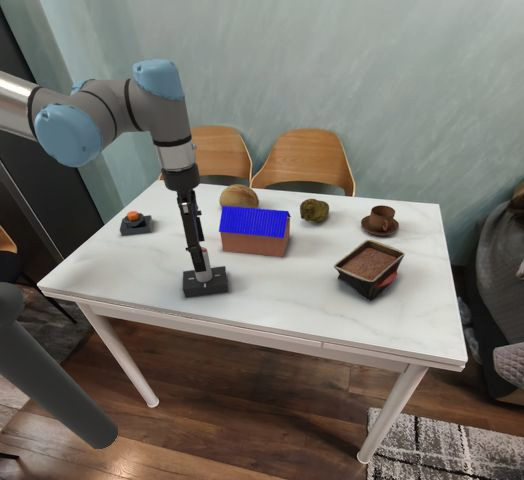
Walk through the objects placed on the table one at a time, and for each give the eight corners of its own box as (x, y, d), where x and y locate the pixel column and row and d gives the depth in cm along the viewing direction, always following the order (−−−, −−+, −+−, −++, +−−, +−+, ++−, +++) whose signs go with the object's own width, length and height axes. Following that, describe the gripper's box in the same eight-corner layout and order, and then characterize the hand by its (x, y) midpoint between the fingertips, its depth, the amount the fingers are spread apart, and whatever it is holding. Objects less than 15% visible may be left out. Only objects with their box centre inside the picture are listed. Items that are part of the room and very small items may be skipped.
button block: (122, 235, 105) (117, 224, 102) (125, 224, 110) (120, 213, 107) (151, 232, 106) (147, 221, 103) (152, 220, 111) (149, 210, 108)
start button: (128, 221, 104) (126, 216, 102) (129, 216, 106) (127, 211, 105) (138, 220, 104) (137, 215, 103) (139, 215, 106) (138, 210, 105)
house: (283, 257, 93) (284, 221, 84) (221, 251, 97) (215, 215, 88) (290, 236, 100) (291, 201, 91) (232, 231, 104) (228, 196, 95)
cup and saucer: (404, 233, 99) (411, 215, 94) (373, 242, 96) (378, 223, 92) (382, 216, 106) (387, 199, 101) (352, 224, 104) (356, 206, 99)
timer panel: (185, 298, 83) (182, 289, 81) (185, 279, 89) (182, 270, 86) (228, 292, 84) (227, 283, 81) (226, 273, 89) (224, 264, 87)
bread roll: (257, 215, 110) (255, 192, 104) (217, 214, 112) (213, 191, 106) (261, 202, 116) (260, 180, 110) (223, 201, 118) (220, 179, 112)
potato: (337, 220, 106) (340, 197, 99) (305, 231, 102) (307, 207, 96) (323, 210, 110) (326, 187, 104) (292, 220, 107) (293, 197, 101)
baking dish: (325, 286, 87) (328, 260, 78) (366, 253, 92) (373, 225, 83) (365, 314, 81) (373, 289, 72) (407, 277, 85) (419, 250, 77)
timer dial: (196, 283, 82) (189, 256, 76) (196, 273, 85) (189, 246, 79) (212, 281, 83) (207, 254, 76) (212, 271, 85) (206, 244, 79)
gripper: (198, 189, 54) (217, 283, 71) (196, 142, 70) (212, 228, 86) (156, 193, 54) (185, 287, 70) (163, 145, 69) (185, 231, 86)
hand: (200, 255), depth 78 cm, fingers open, 13 cm apart
